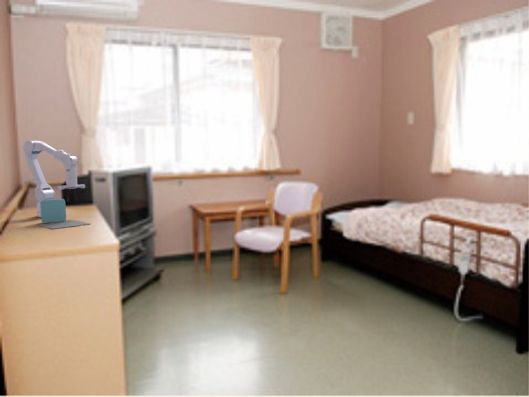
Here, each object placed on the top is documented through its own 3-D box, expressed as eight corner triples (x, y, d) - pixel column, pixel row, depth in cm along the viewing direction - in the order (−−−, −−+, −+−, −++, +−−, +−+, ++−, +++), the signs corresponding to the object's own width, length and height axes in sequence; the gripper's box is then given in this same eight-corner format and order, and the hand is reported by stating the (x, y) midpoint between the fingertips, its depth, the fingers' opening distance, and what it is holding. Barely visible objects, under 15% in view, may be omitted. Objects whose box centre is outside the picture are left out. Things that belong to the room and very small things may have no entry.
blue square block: (66, 220, 253) (65, 198, 252) (66, 221, 248) (64, 199, 247) (42, 222, 248) (40, 200, 247) (41, 223, 244) (40, 200, 243)
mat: (37, 225, 238) (37, 224, 238) (75, 220, 253) (75, 220, 253) (52, 229, 228) (52, 228, 228) (90, 224, 243) (90, 223, 243)
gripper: (62, 178, 253) (63, 203, 254) (87, 177, 263) (88, 201, 265) (56, 177, 257) (57, 202, 259) (81, 176, 268) (82, 199, 270)
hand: (72, 201), depth 262 cm, fingers open, 4 cm apart
